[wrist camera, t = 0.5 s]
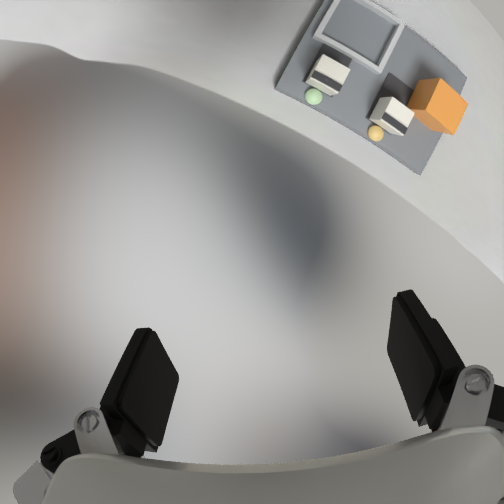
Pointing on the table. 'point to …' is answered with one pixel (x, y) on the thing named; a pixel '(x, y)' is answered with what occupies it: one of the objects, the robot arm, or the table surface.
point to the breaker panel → (369, 73)
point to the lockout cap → (437, 105)
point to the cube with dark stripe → (392, 115)
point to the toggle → (328, 75)
